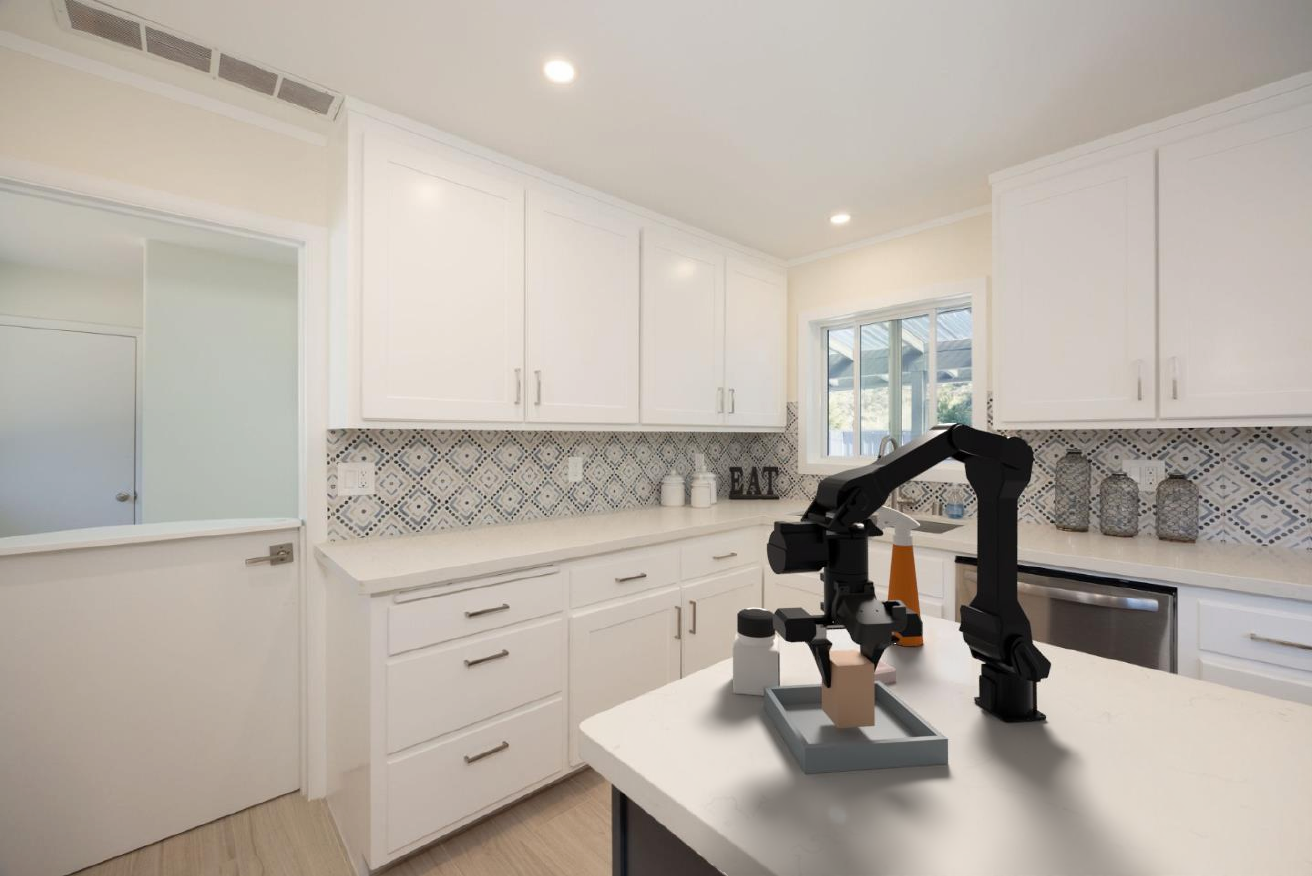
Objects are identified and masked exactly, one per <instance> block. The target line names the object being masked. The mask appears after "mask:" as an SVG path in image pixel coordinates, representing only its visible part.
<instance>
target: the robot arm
mask: <svg viewBox="0 0 1312 876" xmlns="http://www.w3.org/2000/svg"><path fill="white" fill-rule="evenodd" d="M1032 447H1033V446H1032V445H1031V444H1028V442H1027V441H1026V440H1025V439H1023V438H1022V437H1020V436H1016V435H1015V436H1012V435H1011V436H1009V435H1007V436H1004V435H1002V434H997V433H993V432H988V431H985V430H981V429H978V428H974V427H971V426H970V425H967V424H964V423H962V422H951V423H950V422H949V423H938V424H934V425H933V426H932V427H931V428H930V429H928V431H926V432H924V433H922V434H921V435H919V436H917V437H916V438H914V439H912V440H910V441H908V442H907V443H905V444H904V445H903V444H902V445H901V446H899V447H898V448H896V449H894V450H893V451H891V452H889V453H887V454H886V455H884V456H882V457H880V458H878V459H877V460H875V461H873V462H872V463H870V464H867V465H864V466H861V467H855V468H852V469H847V470H844V471H841V472H838V473H835V474H832V475H829V476H827V477H824V478H823V479H822V480H821V481H820V482H819V483H818V485H817V490H816V492H815V494H816V495H815V497H814V498H813V500H812V501H811V503H810V504H809V506H808V507H807V509H806V510H805V511H804V514H802V516H801V518H800V521H785V520H776V521H774V522H773V530H772V532H770V535H769V538H768V542H767V543H766V555H767V560H768V564H769V567H770V569H771V570H772V572H773V573H774V574H775V575H790V574H805V573H806V574H808V573H819V580H820V581H821V582H823V601H820V602H819V604H820V605H819V606H820V610H821V611H822V612H823V614H810V613H808V612H807V611H806V610H805V609H803V607H802V606H801V607H800V606H799V607H779V608H777V609H776V610H775V612H774V613H773V614H774V615H773V628H774V629H775V632H776V633H778V634H779V635H780V637H781V638H782V639H783V640H784V641H785V642H786V643H787V642H788V643H805V644H806V645H807V646H808V647H809V649H810V652H811V654H812V657H813V659H814V660H815V663H816V667H817V669H818V672H819V674H820V677H821V681H822V680H823V682H824V685H825V686H826V687H827V688H830V687H831V669H830V654H829V652H830V651H831V649H832V647H833V642H832V641H831V640H829V639H828V638H827V634H828V633H827V631H831V630H846V631H847V633H848V634H849V637H850V640H852V642H853V643H854V644H857V645H859V650H860V653H861V654H862V655H863V656H864V657H866V658H867V659H868V660H869V661H871V662H872V663H873V664H874V673H875V670H876V668H877V665H878V663H879V660H880V661H881V658H882V656H883V654H884V652H885V650H886V649H887V648H889V647H890V646H892V645H895V644H894V643H898V642H899V641H900V639H899V638H898V637H896V636H895V635H894V632H897V633H898V634H899V635H900V636H902V637H920V636H922V635H923V636H924V625H923V624H924V623H923V620H922V617H921V618H920V616H921V615H920V616H919V615H918V614H917V613H916V612H914V611H912V610H910V609H908V608H906V606H905V605H904V603H903V602H902V601H901V600H888V599H887V600H885V599H883V600H881V599H880V600H878V598H877V595H876V588H875V586H874V585H875V584H874V583H875V582H874V581H872V580H870V579H869V577H870V576H869V575H870V573H869V540H868V537H874V536H875V537H882V536H883V535H884V531H883V530H881V529H879V528H878V527H877V526H876V524H875V523H874V522H873V520H872V519H871V517H872V516H873V515H874V514H875V513H876V511H877V510H878V509H880V508H881V507H882V506H885V504H886V503H887V500H888V498H889V496H890V495H891V494H892V493H893V492H894V491H895V490H896V489H898V488H899V487H902V486H903V485H905V484H906V483H908V482H910V481H911V480H913V479H915V478H916V477H918V476H920V475H922V474H924V473H925V472H927V471H928V470H930V469H932V468H934V467H935V466H937V465H939V464H940V463H942V462H944V461H946V460H947V459H948V458H950V459H951V460H954V461H956V462H958V463H959V462H960V463H962V464H963V465H964V471H965V478H966V480H967V482H968V484H969V485H970V486H971V488H972V490H973V492H974V493H975V495H976V499H977V500H976V501H977V502H976V505H977V506H976V507H977V508H976V511H977V513H976V515H977V516H976V517H977V518H976V520H977V521H976V522H977V524H976V527H977V528H976V534H977V535H976V539H977V540H976V544H977V545H976V594H975V596H974V597H973V599H972V600H971V601H970V603H969V604H968V605H967V604H961V605H960V607H959V615H960V625H959V627H958V632H961V633H962V639H963V642H964V643H965V644H966V645H968V648H969V651H970V655H971V657H972V658H973V659H975V660H978V661H980V662H982V663H981V664H980V665H981V666H980V667H981V668H980V670H981V671H980V673H981V674H979V675H978V696H974V698H973V701H974V702H975V703H976V704H978V705H979V706H981V707H983V709H985V710H986V711H988V712H990V713H991V714H993V715H994V716H995V717H997V718H998V719H1000V720H1001V721H1003V722H1006V723H1013V722H1028V721H1030V722H1031V721H1043V720H1044V721H1045V720H1047V715H1046V714H1045V713H1044V712H1041V711H1040V710H1038V683H1040V682H1041V680H1044V679H1048V678H1049V676H1050V672H1051V668H1052V662H1051V661H1050V660H1049V659H1048V658H1047V657H1046V656H1045V655H1044V654H1043V653H1042V652H1041V651H1040V650H1039V648H1038V647H1037V646H1036V645H1035V644H1034V640H1033V634H1032V627H1031V622H1030V619H1029V618H1028V616H1027V615H1026V612H1025V611H1024V609H1023V607H1022V605H1021V604H1020V602H1019V600H1018V554H1019V553H1018V550H1019V549H1018V545H1019V544H1018V542H1019V539H1018V534H1019V532H1018V529H1019V528H1018V525H1019V524H1018V522H1019V521H1018V520H1019V519H1018V515H1019V514H1018V513H1019V512H1018V510H1019V509H1018V508H1019V507H1018V505H1019V504H1018V503H1019V498H1020V497H1021V495H1022V494H1023V492H1024V491H1025V489H1026V488H1027V486H1028V485H1029V484H1030V483H1031V479H1032V474H1033V473H1032V472H1033V467H1034V466H1033V465H1034V458H1035V457H1034V450H1033V448H1032ZM875 537H874V538H875ZM822 569H823V572H821V571H822Z"/></svg>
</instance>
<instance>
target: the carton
mask: <svg viewBox="0 0 1312 876" xmlns="http://www.w3.org/2000/svg"><path fill="white" fill-rule="evenodd" d="M857 650H858V649H843V650H841V649H839V650H830V652H829V654H830V669H831V687H830V688H827V687H826V686H825V685H824V682H823V680H822V679H821V684H822V710H823V711H824V712H825V713H826V715H827V716H828V717H829V718H830V719H831V721H832V722H833V723H834V724H835V725H836V727H837V728H851V727H867V726H875V701H874V664H873V663H872V662H871V661H869V660H868V659H867V658H866V657H864V656H863V655H862V654H861V653H860V652H858V651H857Z"/></svg>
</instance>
